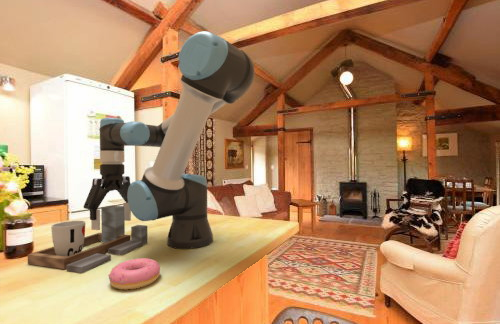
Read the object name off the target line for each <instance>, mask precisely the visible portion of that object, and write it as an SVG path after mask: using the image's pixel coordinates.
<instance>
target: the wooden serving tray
mask: <svg viewBox="0 0 500 324" xmlns="http://www.w3.org/2000/svg"><path fill="white" fill-rule="evenodd" d="M100 222H101V232H96V233H93V234H90V235H87V236H85V237H84V243H83V247H86V246H88V245H91V244H95V243H97V242H101V243H102V244H99V245H96V246H93V247H91V248H90V247H89V248H87V249H83V250H82V251H81V252H79V253H76V254H73V255H70V256H67V257H65V256H57V255H56V253H55V249H54V246H51V247H47V248H45V249H41V250H38V251H35V252H31V253H28V254H27V264H28V265H33V266H41V267H47V268H53V269H59V270H60V269H62V270H65V269H66V270H67V265H68V264H71V263H73V262H76V261H78V260H81V259H84V258H86V257H89V256H91V255H94V254H96V253H98V254H106V253H108V249H109V248H112V247H114V246H117V245H120V244H122V243H125V242H127V241H130V240H131V235H130V234H126V231H125V228H126V226H125V223H126V221H125V216H124V206H123V205H107V206H102V207H101V208H100Z"/></svg>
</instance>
